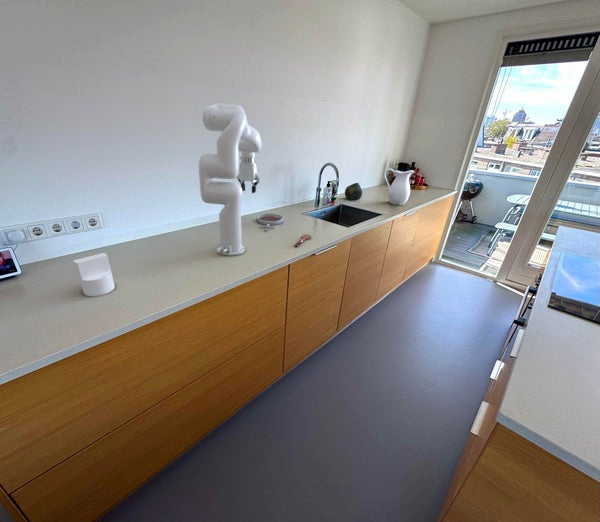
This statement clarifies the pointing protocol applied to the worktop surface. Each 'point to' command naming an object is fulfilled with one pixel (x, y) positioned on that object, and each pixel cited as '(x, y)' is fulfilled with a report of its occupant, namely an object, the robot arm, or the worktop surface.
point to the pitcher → (399, 187)
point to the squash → (353, 192)
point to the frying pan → (269, 220)
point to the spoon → (303, 239)
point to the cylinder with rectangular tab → (95, 274)
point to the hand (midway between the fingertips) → (248, 191)
